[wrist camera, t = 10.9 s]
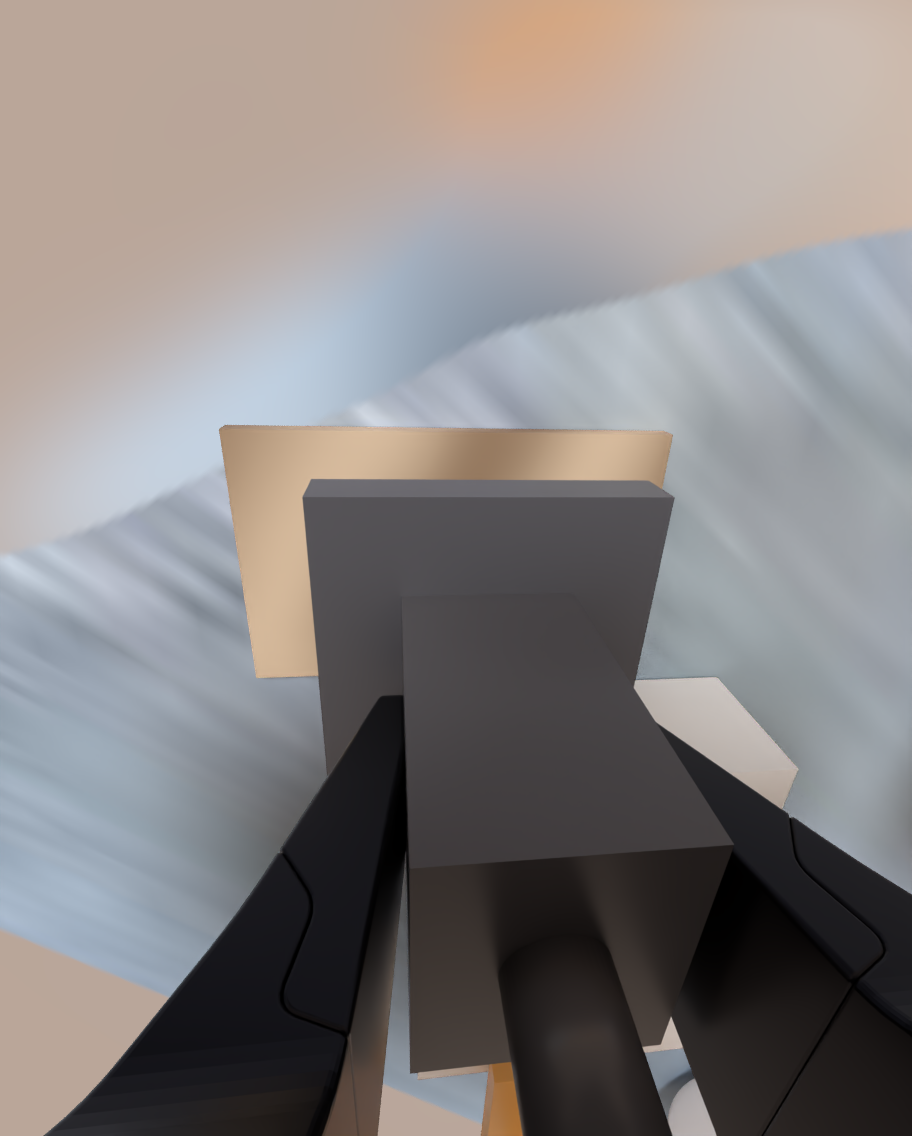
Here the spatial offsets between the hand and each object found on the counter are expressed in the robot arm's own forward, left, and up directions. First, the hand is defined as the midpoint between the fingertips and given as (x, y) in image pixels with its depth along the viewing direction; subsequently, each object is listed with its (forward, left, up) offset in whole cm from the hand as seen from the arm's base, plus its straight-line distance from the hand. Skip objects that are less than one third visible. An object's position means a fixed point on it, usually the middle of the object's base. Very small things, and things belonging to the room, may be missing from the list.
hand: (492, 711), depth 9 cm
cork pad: (0, 0, -6) cm, 7 cm away
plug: (0, 0, -2) cm, 2 cm away
